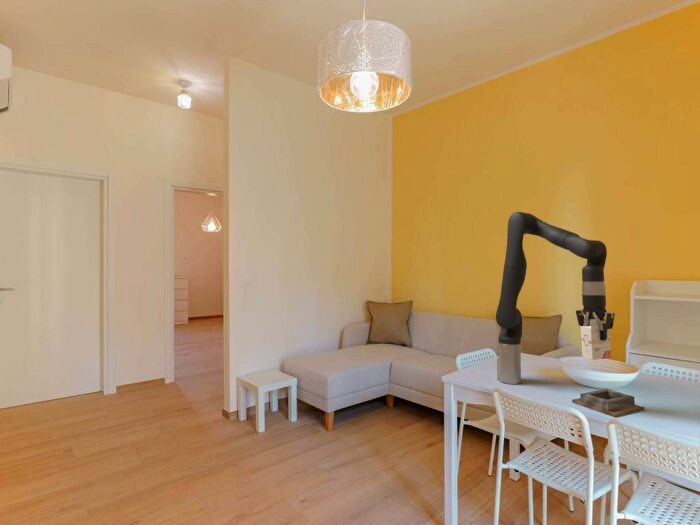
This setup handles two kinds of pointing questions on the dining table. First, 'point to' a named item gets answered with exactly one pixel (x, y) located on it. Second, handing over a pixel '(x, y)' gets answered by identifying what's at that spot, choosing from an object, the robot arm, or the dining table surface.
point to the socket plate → (614, 412)
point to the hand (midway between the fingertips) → (595, 339)
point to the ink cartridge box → (594, 342)
